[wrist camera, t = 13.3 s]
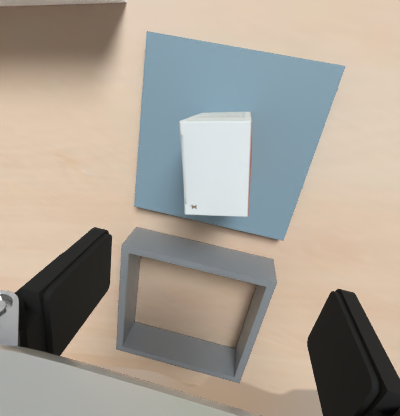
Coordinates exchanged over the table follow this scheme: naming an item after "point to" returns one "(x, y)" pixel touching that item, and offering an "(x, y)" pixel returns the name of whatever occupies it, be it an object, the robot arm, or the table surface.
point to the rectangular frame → (177, 343)
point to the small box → (217, 163)
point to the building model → (54, 2)
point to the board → (232, 102)
